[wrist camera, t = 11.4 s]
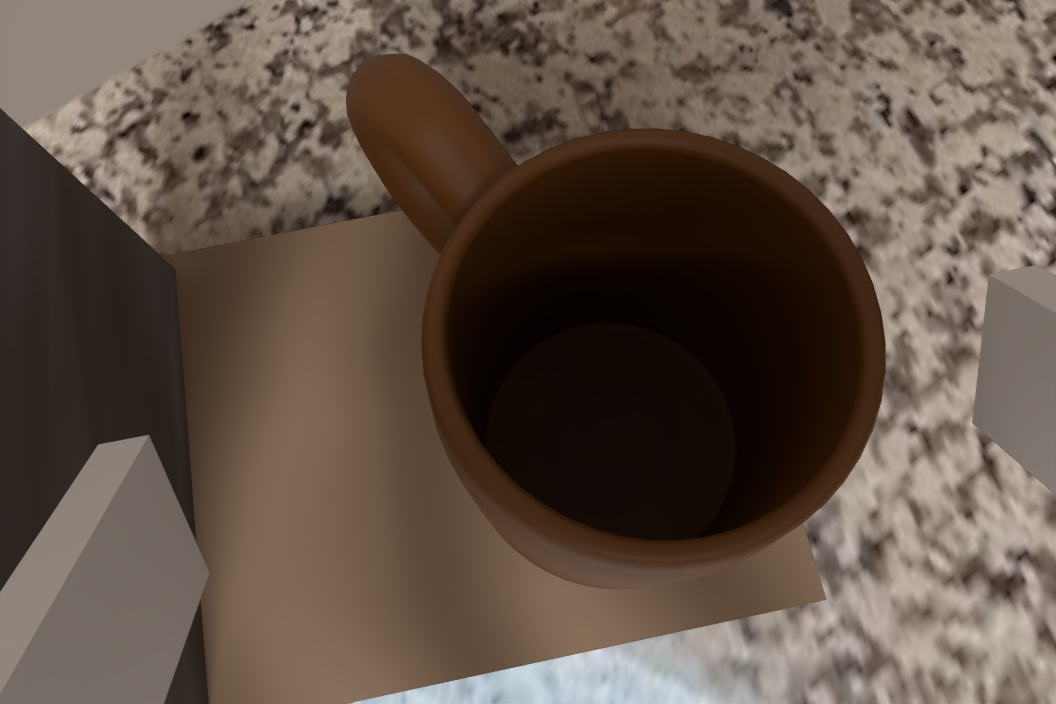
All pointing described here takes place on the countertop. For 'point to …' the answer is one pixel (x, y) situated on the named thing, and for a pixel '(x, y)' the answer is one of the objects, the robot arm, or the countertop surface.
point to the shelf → (292, 453)
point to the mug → (627, 334)
